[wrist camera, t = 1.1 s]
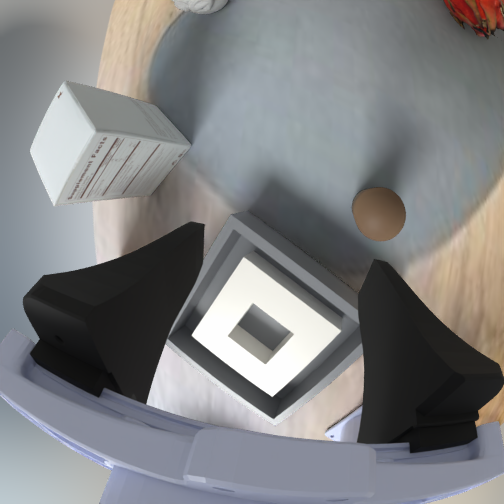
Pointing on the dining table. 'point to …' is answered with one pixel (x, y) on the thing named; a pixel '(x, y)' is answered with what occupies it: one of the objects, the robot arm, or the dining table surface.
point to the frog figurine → (200, 5)
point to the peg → (379, 213)
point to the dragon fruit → (478, 14)
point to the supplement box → (103, 146)
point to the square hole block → (266, 321)
